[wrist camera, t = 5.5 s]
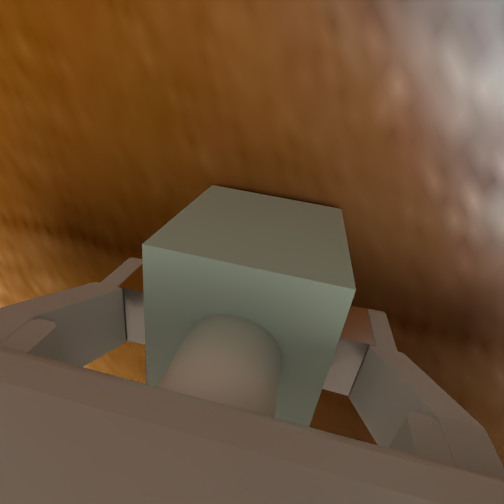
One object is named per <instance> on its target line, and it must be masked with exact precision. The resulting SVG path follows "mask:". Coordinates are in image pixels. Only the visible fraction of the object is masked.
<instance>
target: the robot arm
mask: <svg viewBox="0 0 504 504" xmlns="http://www.w3.org/2000/svg"><path fill="white" fill-rule="evenodd" d="M126 341H130V342H135V343H139V344H144V345H145V322H144V292H143V262H142V259H139V258H134V257H131V258H128V259H127V260H126V261H125V262H124V263H123V264H121V265H120V266H119V267H118V268H117V269H115V270H114V271H113V272H112V273H111V274H110V275H108V276H107V277H106V278H105V279H104V280H102V281H101V282H100V283H99V282H92V283H88V284H85V285H81V286H77V287H74V288H70V289H67V290H63V291H59V292H56V293H52V294H49V295H45V296H41V297H38V298H34V299H31V300H27V301H23V302H20V303H16V304H13V305H9V306H5V307H2V308H0V504H504V466H503V464H502V462H501V460H500V458H499V456H498V454H497V452H496V450H495V448H494V446H493V444H492V442H491V440H490V438H489V436H488V434H487V432H486V430H485V428H484V427H483V426H482V425H481V424H480V423H478V422H477V421H476V420H475V419H474V418H473V417H472V416H471V415H470V414H469V413H468V412H467V411H466V410H464V409H463V408H462V407H461V406H460V405H459V404H458V403H457V402H456V401H455V400H454V399H453V398H451V397H450V396H449V395H448V394H447V393H446V392H445V391H444V390H443V389H442V388H441V387H440V386H439V385H437V384H436V383H435V382H434V381H433V380H432V379H431V378H430V377H429V376H428V375H427V374H426V373H425V372H423V371H422V370H421V369H420V368H419V367H418V366H417V365H416V364H415V363H414V362H413V361H412V360H410V359H409V358H408V357H407V356H406V355H405V354H404V353H402V352H398V351H397V348H396V345H395V341H394V338H393V335H392V332H391V328H390V325H389V322H388V319H387V315H386V313H385V312H383V311H378V310H372V309H367V308H361V307H356V306H350V309H349V312H348V315H347V318H346V321H345V324H344V327H343V330H342V332H341V335H340V338H339V341H338V344H337V347H336V350H335V353H334V356H333V359H332V362H331V365H330V368H329V371H328V373H327V376H326V379H325V382H324V385H323V388H322V389H325V390H328V391H332V392H335V393H339V394H343V395H346V396H349V399H350V401H351V402H352V404H353V406H354V407H355V409H356V411H357V412H358V414H359V415H360V417H361V419H362V420H363V422H364V424H365V425H366V427H367V429H368V430H369V432H370V433H371V435H372V437H373V438H374V440H375V442H376V443H377V445H375V444H371V443H367V442H363V441H360V440H356V439H352V438H348V437H345V436H341V435H337V434H333V433H330V432H326V431H322V430H318V429H315V428H311V427H307V426H303V425H300V424H296V423H292V422H288V421H284V420H281V419H277V418H273V417H269V416H266V415H262V414H258V413H254V412H251V411H247V410H243V409H239V408H235V407H232V406H228V405H224V404H220V403H216V402H213V401H209V400H205V399H201V398H197V397H194V396H190V395H186V394H182V393H178V392H175V391H171V390H167V389H163V388H159V387H155V386H152V385H148V384H144V383H140V382H136V381H133V380H129V379H125V378H121V377H117V376H114V375H110V374H106V373H102V372H98V371H95V370H91V369H87V368H83V366H85V365H87V364H88V363H90V362H92V361H94V360H95V359H97V358H99V357H101V356H103V355H104V354H106V353H108V352H110V351H111V350H113V349H115V348H117V347H118V346H120V345H122V344H124V343H125V342H126Z"/></svg>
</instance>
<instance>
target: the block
mask: <svg viewBox="0 0 504 504" xmlns="http://www.w3.org/2000/svg"><path fill="white" fill-rule="evenodd" d="M142 262H143V292H144V322H145V352H146V381H147V384H148V385H152V386H155V387H159V388H163V389H167V390H171V391H175V392H178V393H182V394H186V395H190V396H194V397H197V398H201V399H205V400H209V401H213V402H216V403H220V404H224V405H228V406H232V407H235V408H239V409H243V410H247V411H251V412H254V413H258V414H262V415H266V416H269V417H273V418H277V419H281V420H284V421H288V422H292V423H296V424H300V425H303V426H307V427H309V426H310V423H311V420H312V417H313V415H314V412H315V409H316V406H317V403H318V400H319V397H320V394H321V391H322V388H323V385H324V382H325V379H326V376H327V373H328V371H329V368H330V365H331V362H332V359H333V356H334V353H335V350H336V347H337V344H338V341H339V338H340V335H341V332H342V330H343V327H344V324H345V321H346V318H347V315H348V312H349V309H350V306H351V303H352V300H353V297H354V294H355V291H356V287H355V281H354V276H353V270H352V264H351V259H350V253H349V248H348V242H347V237H346V231H345V225H344V220H343V214H342V209H339V208H334V207H328V206H323V205H318V204H312V203H307V202H302V201H296V200H291V199H285V198H280V197H275V196H269V195H264V194H259V193H253V192H248V191H242V190H237V189H232V188H226V187H221V186H216V185H212V186H210V187H209V188H208V189H207V190H206V191H204V192H203V193H202V194H201V195H200V196H199V197H197V198H196V199H195V200H194V201H193V202H191V203H190V204H189V205H188V206H187V207H185V208H184V209H183V210H182V211H181V212H180V213H178V214H177V215H176V216H175V217H174V218H172V219H171V220H170V221H169V222H168V223H166V224H165V225H164V226H163V227H162V228H161V229H159V230H158V231H157V232H156V233H155V234H153V235H152V236H151V237H150V238H149V239H147V240H146V241H145V242H144V243H143V244H142Z"/></svg>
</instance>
